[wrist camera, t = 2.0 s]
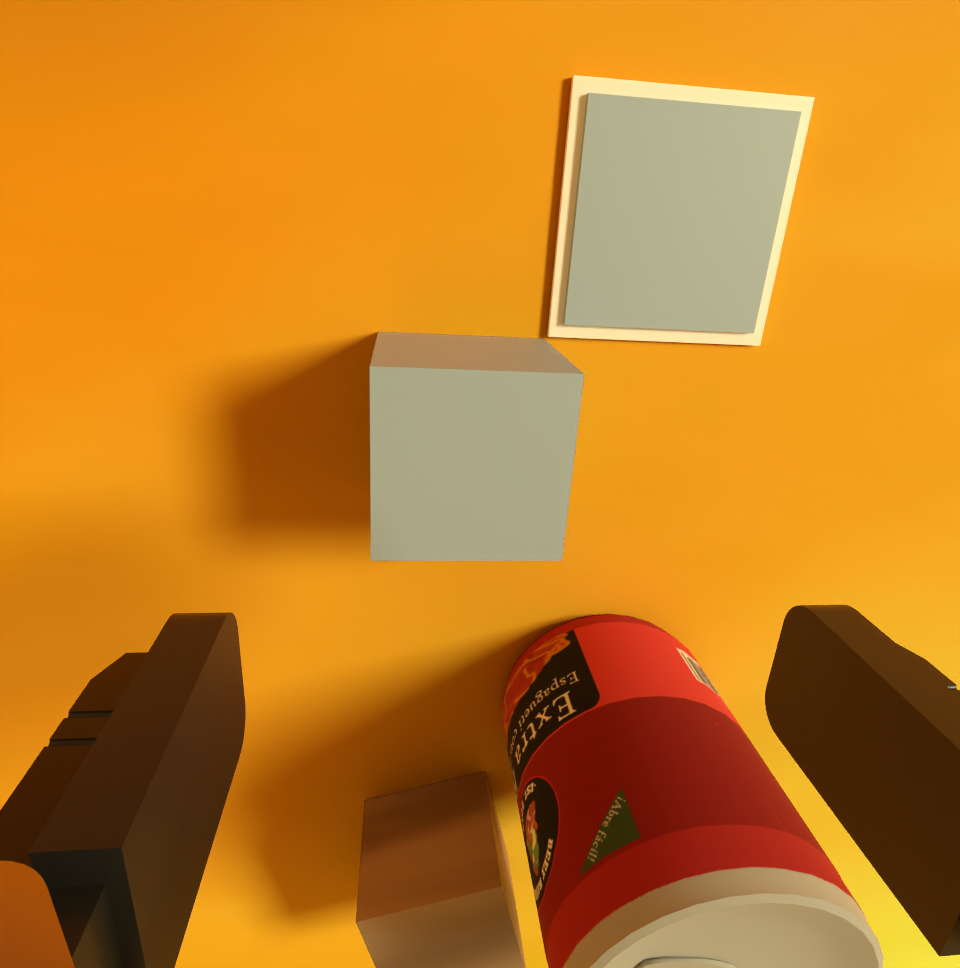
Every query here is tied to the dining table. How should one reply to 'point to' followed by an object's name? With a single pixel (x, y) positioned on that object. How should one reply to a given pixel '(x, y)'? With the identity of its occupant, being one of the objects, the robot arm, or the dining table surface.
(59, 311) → the dining table surface
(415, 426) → the light grey cube
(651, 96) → the swatch
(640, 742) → the canned food
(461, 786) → the walnut block
